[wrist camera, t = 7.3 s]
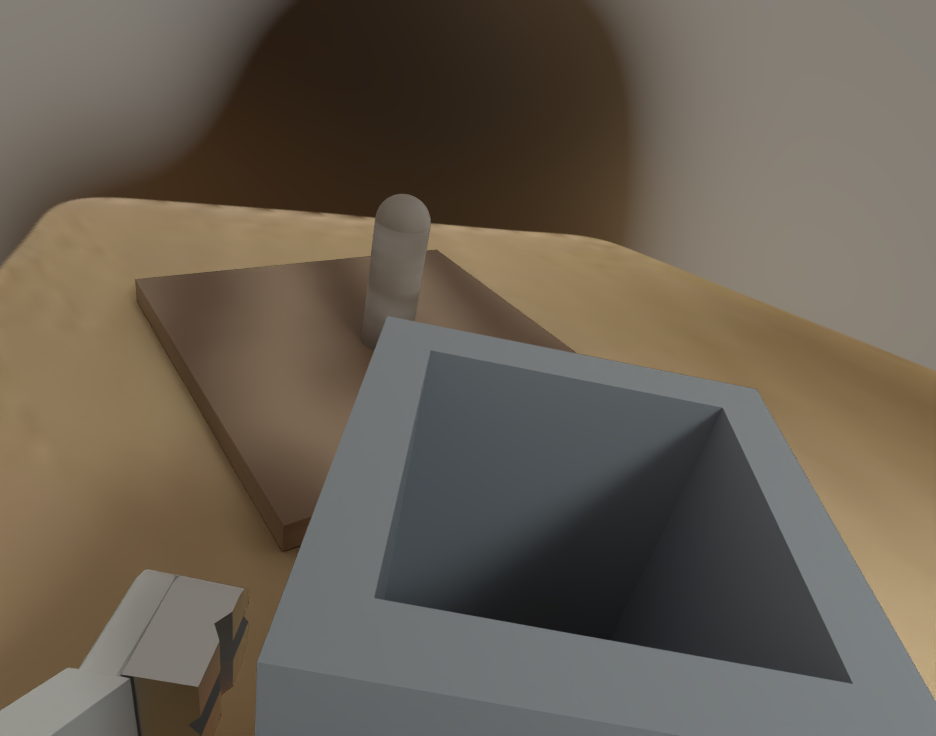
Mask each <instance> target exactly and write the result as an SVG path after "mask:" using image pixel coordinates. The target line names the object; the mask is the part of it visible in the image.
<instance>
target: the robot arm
mask: <svg viewBox="0 0 936 736" xmlns="http://www.w3.org/2000/svg"><path fill="white" fill-rule="evenodd" d="M248 604H249V597H248V589H247V588H242V587H237V586H232V585H227V584H222V583H217V582H212V581H206V580H201V579H196V578H191V577H186V576H181V575H177V574H172V573H166V572H161V571H155V570H150V569H145V570H144V571H143V572H142V573H141V574H140V575H139V576H138V577H136V579H135V580H134V582H133V583H132V585H131V586H130V588H129V590H128V591H127V593H126V594H125V596H124V597H123V599H122V601H121V602H120V604H119V605H118V607H117V608H116V610H115V612H114V613H113V615H112V616H111V618H110V620H109V621H108V623H107V624H106V626H105V627H104V629H103V631H102V632H101V634H100V635H99V637H98V638H97V640H96V642H95V643H94V645H93V646H92V648H91V650H90V651H89V653H88V654H87V656H86V657H85V659H84V661H83V662H82V664H81V665H80V667H79V668H70V667H67V668H66V669H64V670H62V671H61V672H59V673H58V674H56V675H55V676H53V677H51V678H50V679H48V680H47V681H45V682H44V683H42V684H41V685H39V686H37V687H36V688H34V689H33V690H31V691H30V692H28V693H27V694H25V695H23V696H22V697H20V698H19V699H17V700H16V701H14V702H12V703H11V704H9V705H8V706H6V707H5V708H3V709H2V710H0V736H213V734H214V732H215V729H216V727H217V724H218V722H219V719H220V717H221V695H222V694H223V693H225V692H226V691H227V690H228V689H230V688H231V687H232V686H233V684H234V682H235V679H236V676H237V674H238V671H239V669H240V666H241V662H242V659H243V655H244V652H245V648H246V643H247V636H248V621H247V620H246V619H245V618H244V617H243V616H244V613H245V611H246V608H247V606H248Z"/></svg>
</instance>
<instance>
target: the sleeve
mask: <svg viewBox="0 0 936 736" xmlns="http://www.w3.org/2000/svg"><path fill="white" fill-rule="evenodd" d="M255 736H936V701H935V700H934V698H933V696H932V694H931V693H930V691H929V689H928V687H927V686H926V684H925V682H924V680H923V679H922V677H921V675H920V673H919V672H918V670H917V668H916V666H915V665H914V663H913V661H912V659H911V658H910V656H909V654H908V652H907V651H906V649H905V647H904V645H903V644H902V642H901V640H900V639H899V637H898V635H897V633H896V632H895V630H894V628H893V626H892V625H891V623H890V621H889V619H888V618H887V616H886V614H885V612H884V611H883V609H882V607H881V605H880V604H879V602H878V600H877V598H876V597H875V595H874V593H873V591H872V590H871V588H870V586H869V584H868V583H867V581H866V579H865V577H864V576H863V574H862V572H861V570H860V569H859V567H858V565H857V563H856V562H855V560H854V558H853V557H852V555H851V553H850V551H849V550H848V548H847V546H846V544H845V543H844V541H843V539H842V537H841V536H840V534H839V532H838V530H837V529H836V527H835V525H834V523H833V522H832V520H831V518H830V516H829V515H828V513H827V511H826V509H825V508H824V506H823V504H822V502H821V501H820V499H819V497H818V495H817V494H816V492H815V490H814V488H813V487H812V485H811V483H810V482H809V480H808V478H807V476H806V475H805V473H804V471H803V469H802V468H801V466H800V464H799V462H798V461H797V459H796V457H795V455H794V454H793V452H792V450H791V448H790V447H789V445H788V443H787V441H786V440H785V438H784V436H783V434H782V433H781V431H780V429H779V427H778V426H777V424H776V422H775V420H774V419H773V417H772V415H771V413H770V412H769V410H768V408H767V406H766V405H765V403H764V401H763V400H762V398H761V396H760V394H759V393H758V391H757V389H753V388H748V387H743V386H738V385H733V384H728V383H723V382H718V381H713V380H708V379H703V378H698V377H693V376H688V375H683V374H678V373H672V372H667V371H662V370H657V369H652V368H647V367H642V366H637V365H632V364H627V363H622V362H617V361H612V360H607V359H602V358H597V357H592V356H587V355H582V354H576V353H571V352H566V351H561V350H556V349H551V348H546V347H541V346H536V345H531V344H526V343H521V342H516V341H511V340H506V339H501V338H496V337H491V336H486V335H480V334H475V333H470V332H465V331H460V330H455V329H450V328H445V327H440V326H435V325H430V324H425V323H420V322H415V321H410V320H405V319H400V318H395V317H390V316H387V318H386V321H385V324H384V326H383V329H382V332H381V334H380V337H379V340H378V342H377V345H376V347H375V350H374V353H373V355H372V358H371V361H370V363H369V366H368V369H367V371H366V374H365V377H364V379H363V382H362V385H361V387H360V390H359V393H358V395H357V398H356V401H355V403H354V406H353V409H352V411H351V414H350V417H349V419H348V422H347V424H346V427H345V430H344V432H343V435H342V438H341V440H340V443H339V446H338V448H337V451H336V454H335V456H334V459H333V462H332V464H331V467H330V470H329V472H328V475H327V478H326V480H325V483H324V486H323V488H322V491H321V494H320V496H319V499H318V501H317V504H316V507H315V509H314V512H313V515H312V517H311V520H310V523H309V525H308V528H307V531H306V533H305V536H304V539H303V541H302V544H301V547H300V549H299V552H298V555H297V557H296V560H295V563H294V565H293V568H292V570H291V573H290V576H289V578H288V581H287V584H286V586H285V589H284V592H283V594H282V597H281V600H280V602H279V605H278V608H277V610H276V613H275V616H274V618H273V621H272V624H271V626H270V629H269V632H268V634H267V637H266V640H265V642H264V645H263V647H262V650H261V653H260V655H259V658H258V661H257V679H256V713H255Z"/></svg>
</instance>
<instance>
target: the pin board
mask: <svg viewBox="0 0 936 736" xmlns="http://www.w3.org/2000/svg"><path fill="white" fill-rule="evenodd" d="M430 224H431V222H430V216H429V212H428V210H427V208H426V207H425V205H424V204H423V203H422V202H421V201H420V200H419V199H417V198H416V197H414V196H411V195H407V194H398V195H394V196H391V197H389V198H388V199H386V200H385V201H384V202H383V203H382V204H381V205H380V207H379V208H378V211H377V213H376V218H375V226H374V235H373V243H372V252H371V256H367V257H357V258H347V259H337V260H326V261H316V262H306V263H296V264H286V265H276V266H265V267H255V268H245V269H235V270H225V271H215V272H204V273H194V274H184V275H174V276H164V277H154V278H143V279H135V284H136V296H137V302H138V304H139V305H140V307H141V309H142V311H143V312H144V314H145V316H146V317H147V319H148V321H149V323H150V324H151V326H152V328H153V330H154V331H155V333H156V335H157V336H158V338H159V340H160V342H161V343H162V345H163V347H164V349H165V350H166V352H167V354H168V355H169V357H170V359H171V361H172V362H173V364H174V366H175V368H176V369H177V371H178V373H179V374H180V376H181V378H182V380H183V381H184V383H185V385H186V386H187V388H188V390H189V392H190V393H191V395H192V397H193V399H194V400H195V402H196V404H197V405H198V407H199V409H200V411H201V412H202V414H203V416H204V418H205V419H206V421H207V423H208V424H209V426H210V428H211V430H212V431H213V433H214V435H215V437H216V438H217V440H218V442H219V443H220V445H221V447H222V449H223V450H224V452H225V454H226V455H227V457H228V459H229V461H230V462H231V464H232V466H233V468H234V469H235V471H236V473H237V474H238V476H239V478H240V480H241V481H242V483H243V485H244V487H245V488H246V490H247V492H248V493H249V495H250V497H251V499H252V500H253V502H254V504H255V506H256V507H257V509H258V511H259V512H260V514H261V516H262V518H263V519H264V521H265V523H266V524H267V526H268V528H269V530H270V531H271V533H272V535H273V537H274V538H275V540H276V542H277V543H278V545H279V547H280V549H281V550H282V552H283V551H286V550H289V549H291V548H294V547H297V546H300V545H301V544H302V541H303V539H304V536H305V533H306V531H307V528H308V525H309V523H310V520H311V517H312V515H313V512H314V509H315V507H316V504H317V501H318V499H319V496H320V494H321V491H322V488H323V486H324V483H325V480H326V478H327V475H328V472H329V470H330V467H331V464H332V462H333V459H334V456H335V454H336V451H337V448H338V446H339V443H340V440H341V438H342V435H343V432H344V430H345V427H346V424H347V422H348V419H349V417H350V414H351V411H352V409H353V406H354V403H355V401H356V398H357V395H358V393H359V390H360V387H361V385H362V382H363V379H364V377H365V374H366V371H367V369H368V366H369V363H370V361H371V358H372V355H373V353H374V350H375V347H376V345H377V342H378V340H379V337H380V334H381V332H382V329H383V326H384V324H385V321H386V318H387V316H390V317H395V318H400V319H405V320H410V321H415V322H420V323H425V324H430V325H435V326H440V327H445V328H450V329H455V330H460V331H465V332H470V333H475V334H480V335H486V336H491V337H496V338H501V339H506V340H511V341H516V342H521V343H526V344H531V345H536V346H541V347H546V348H551V349H556V350H561V351H566V352H571V353H576V352H575V351H573V350H572V349H571V348H569V347H568V346H566V345H565V344H564V343H562V342H561V341H560V340H558V339H557V338H556V337H554V336H553V335H552V334H550V333H549V332H547V331H546V330H545V329H543V328H542V327H541V326H539V325H538V324H537V323H535V322H534V321H533V320H531V319H530V318H528V317H527V316H526V315H524V314H523V313H522V312H520V311H519V310H518V309H516V308H515V307H514V306H512V305H511V304H509V303H508V302H507V301H505V300H504V299H503V298H501V297H500V296H499V295H497V294H496V293H495V292H493V291H492V290H491V289H489V288H488V287H486V286H485V285H484V284H482V283H481V282H480V281H478V280H477V279H476V278H474V277H473V276H472V275H470V274H469V273H467V272H466V271H465V270H463V269H462V268H461V267H459V266H458V265H457V264H455V263H454V262H453V261H451V260H450V259H448V258H447V257H446V256H444V255H443V254H442V253H440V252H439V251H438V250H428V251H426V250H427V244H428V238H429V232H430ZM576 354H577V353H576Z"/></svg>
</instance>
